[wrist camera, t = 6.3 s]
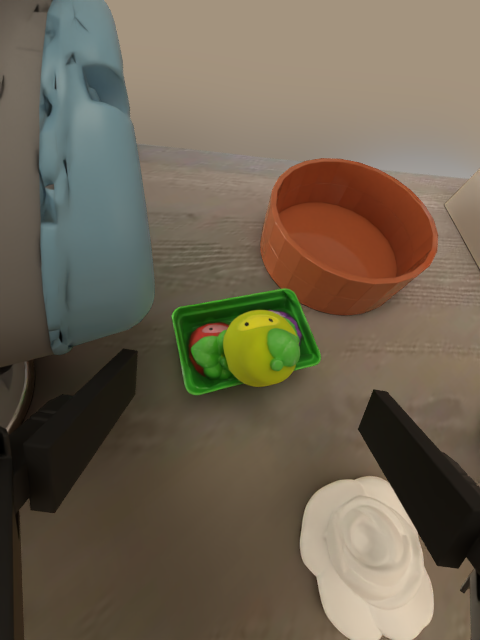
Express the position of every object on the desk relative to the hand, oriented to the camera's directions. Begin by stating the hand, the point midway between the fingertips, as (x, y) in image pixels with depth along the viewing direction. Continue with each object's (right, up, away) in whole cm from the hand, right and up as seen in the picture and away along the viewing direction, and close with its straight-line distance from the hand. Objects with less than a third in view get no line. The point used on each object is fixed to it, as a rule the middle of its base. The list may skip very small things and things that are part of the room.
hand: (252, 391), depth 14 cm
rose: (+8, -14, +6) cm, 17 cm away
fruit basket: (-1, 0, +12) cm, 12 cm away
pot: (+11, +13, +19) cm, 25 cm away
